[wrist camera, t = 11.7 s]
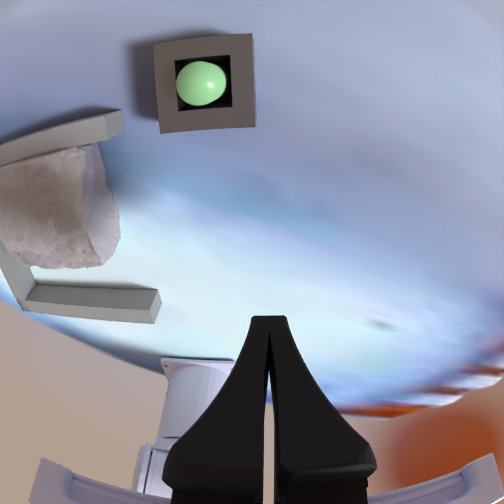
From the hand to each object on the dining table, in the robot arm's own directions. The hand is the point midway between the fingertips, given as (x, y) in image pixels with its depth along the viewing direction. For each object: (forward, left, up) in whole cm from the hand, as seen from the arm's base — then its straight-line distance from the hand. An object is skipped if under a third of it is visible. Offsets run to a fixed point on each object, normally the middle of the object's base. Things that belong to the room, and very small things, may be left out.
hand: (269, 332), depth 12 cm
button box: (+9, +3, -10) cm, 14 cm away
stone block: (+2, +17, -10) cm, 20 cm away
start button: (+9, +3, -11) cm, 15 cm away
